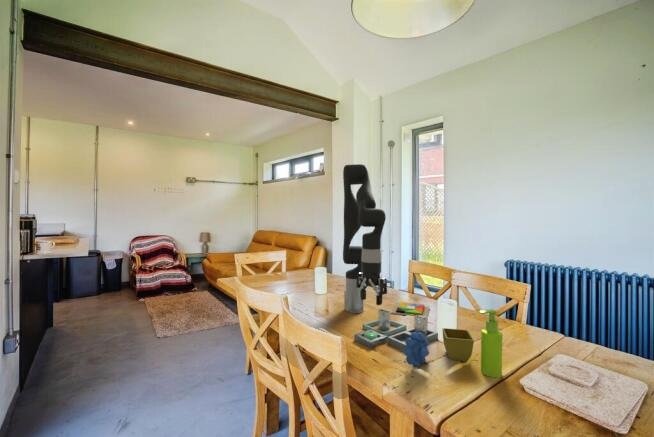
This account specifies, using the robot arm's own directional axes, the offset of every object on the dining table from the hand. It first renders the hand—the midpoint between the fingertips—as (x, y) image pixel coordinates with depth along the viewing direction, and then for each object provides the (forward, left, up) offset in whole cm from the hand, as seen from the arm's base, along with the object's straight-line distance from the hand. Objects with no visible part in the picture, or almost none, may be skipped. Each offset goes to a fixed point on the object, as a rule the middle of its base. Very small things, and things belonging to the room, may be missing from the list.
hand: (371, 302), depth 119 cm
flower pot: (+27, +15, -16) cm, 35 cm away
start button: (0, 0, -16) cm, 16 cm away
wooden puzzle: (-15, +43, -17) cm, 49 cm away
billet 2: (+10, +18, -15) cm, 25 cm away
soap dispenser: (+38, +15, -16) cm, 44 cm away
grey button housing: (0, 0, -16) cm, 16 cm away
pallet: (+10, +13, -16) cm, 23 cm away
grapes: (+23, -1, -16) cm, 28 cm away
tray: (-5, +13, -16) cm, 21 cm away
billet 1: (-5, +13, -15) cm, 21 cm away
